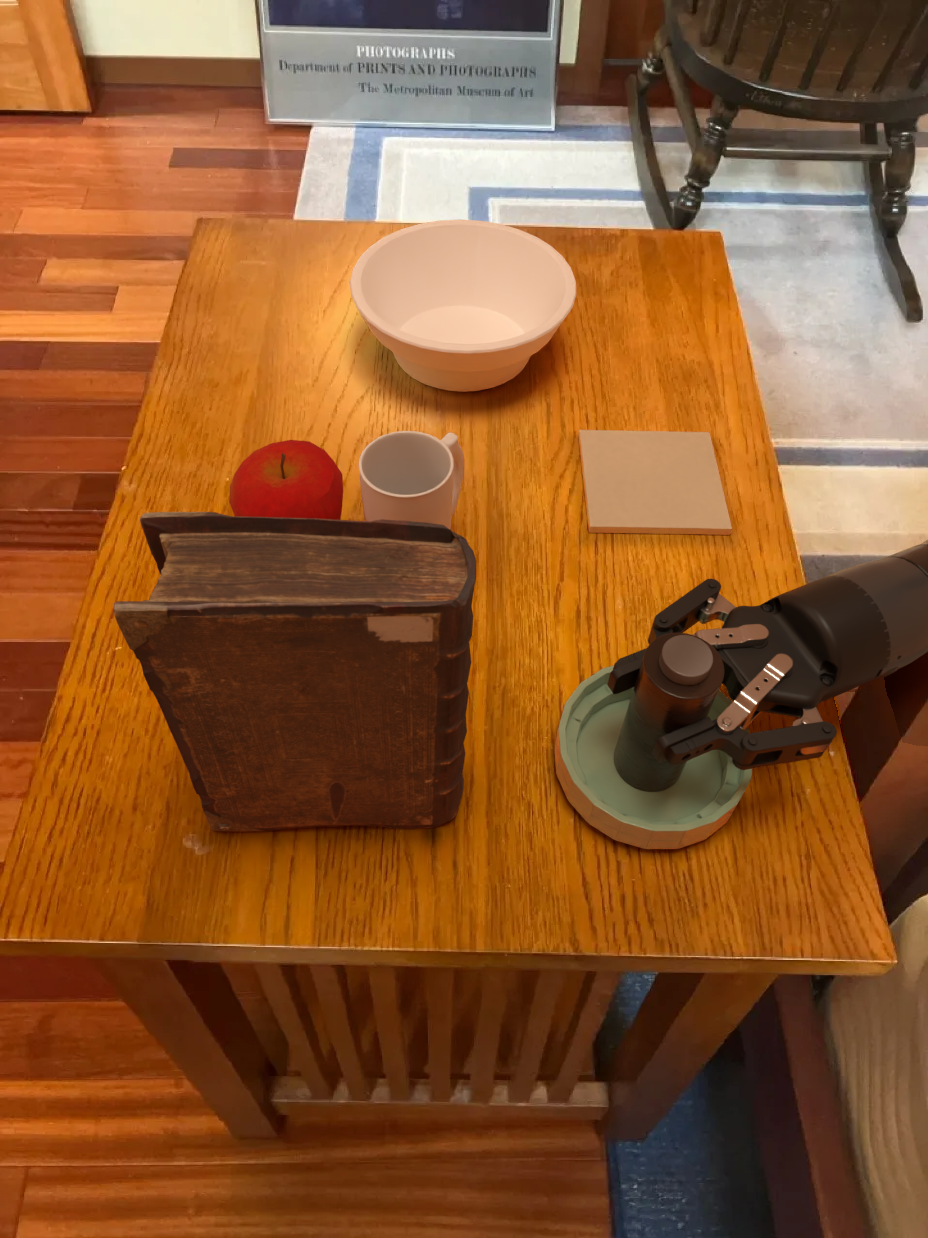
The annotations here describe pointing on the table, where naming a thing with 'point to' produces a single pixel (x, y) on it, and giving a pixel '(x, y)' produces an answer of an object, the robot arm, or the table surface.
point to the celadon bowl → (622, 808)
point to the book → (310, 666)
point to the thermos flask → (666, 706)
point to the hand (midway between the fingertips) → (635, 716)
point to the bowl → (462, 300)
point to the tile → (652, 483)
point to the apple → (288, 483)
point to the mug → (411, 477)
